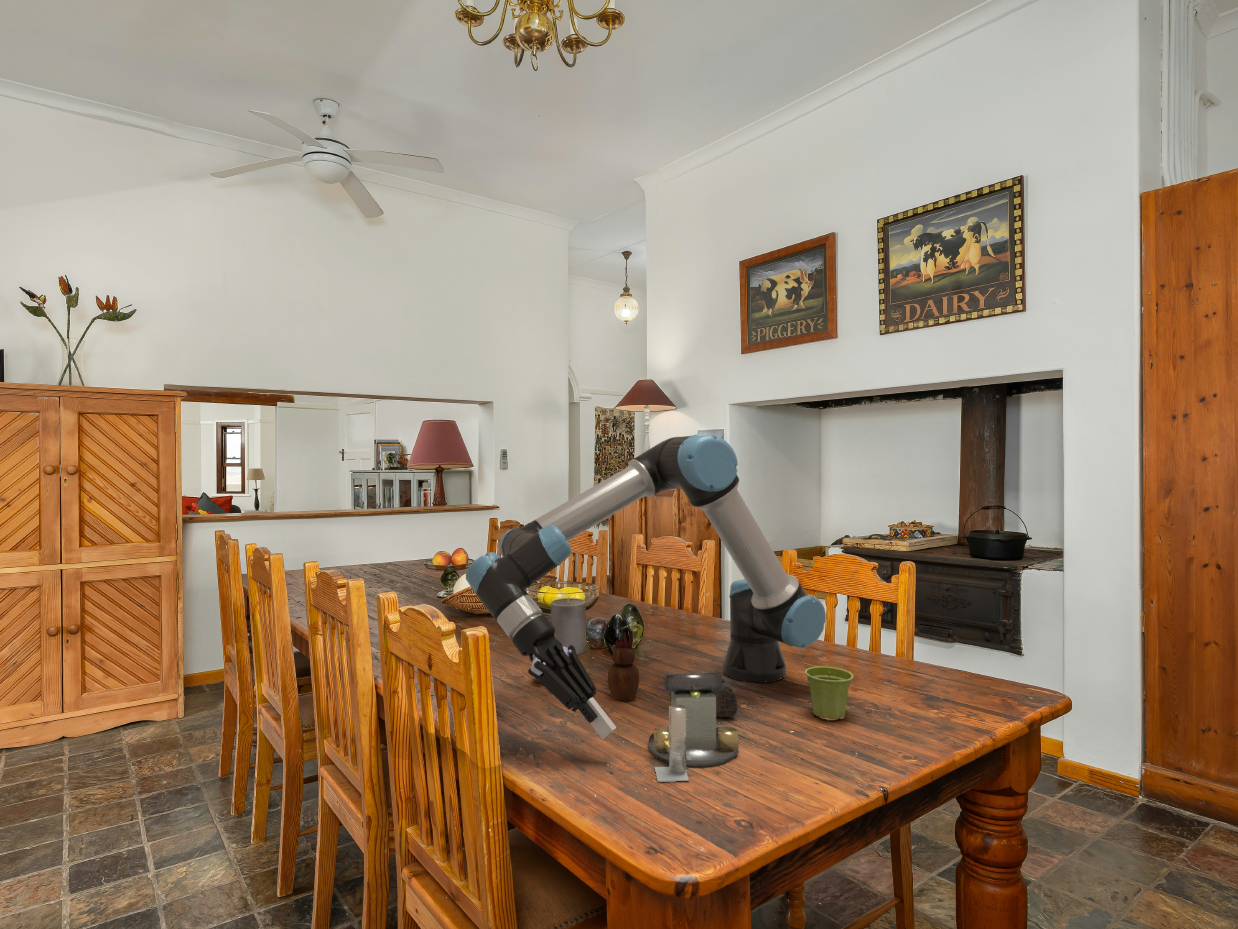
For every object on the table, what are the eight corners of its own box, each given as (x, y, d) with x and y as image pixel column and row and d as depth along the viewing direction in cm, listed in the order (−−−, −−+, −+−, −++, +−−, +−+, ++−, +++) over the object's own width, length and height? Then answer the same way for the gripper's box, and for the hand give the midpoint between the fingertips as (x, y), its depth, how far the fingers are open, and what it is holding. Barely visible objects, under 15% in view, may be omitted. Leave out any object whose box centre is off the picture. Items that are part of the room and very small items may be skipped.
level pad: (684, 768, 114) (684, 766, 114) (688, 782, 109) (688, 780, 109) (654, 769, 113) (654, 767, 113) (657, 782, 108) (657, 781, 108)
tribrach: (727, 729, 130) (727, 659, 131) (747, 766, 114) (747, 686, 114) (644, 731, 130) (644, 661, 130) (653, 768, 113) (653, 688, 113)
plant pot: (853, 710, 140) (853, 668, 140) (853, 727, 131) (853, 682, 131) (806, 705, 143) (806, 664, 143) (803, 721, 134) (803, 677, 134)
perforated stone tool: (695, 698, 148) (695, 666, 148) (719, 697, 149) (719, 665, 149) (714, 724, 133) (714, 688, 134) (740, 722, 134) (739, 687, 134)
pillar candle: (566, 644, 193) (566, 592, 193) (593, 649, 188) (592, 595, 188) (543, 652, 186) (542, 598, 185) (571, 658, 180) (570, 602, 180)
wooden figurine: (643, 696, 149) (642, 628, 149) (632, 704, 144) (632, 634, 144) (615, 692, 152) (615, 625, 152) (604, 700, 147) (603, 631, 147)
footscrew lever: (651, 748, 120) (651, 691, 120) (670, 746, 120) (670, 689, 121) (670, 773, 110) (669, 711, 110) (690, 770, 111) (690, 709, 111)
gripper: (534, 631, 130) (612, 733, 123) (493, 648, 119) (577, 761, 111) (558, 606, 128) (639, 708, 121) (518, 620, 116) (605, 734, 109)
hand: (609, 733), depth 116 cm, fingers closed
